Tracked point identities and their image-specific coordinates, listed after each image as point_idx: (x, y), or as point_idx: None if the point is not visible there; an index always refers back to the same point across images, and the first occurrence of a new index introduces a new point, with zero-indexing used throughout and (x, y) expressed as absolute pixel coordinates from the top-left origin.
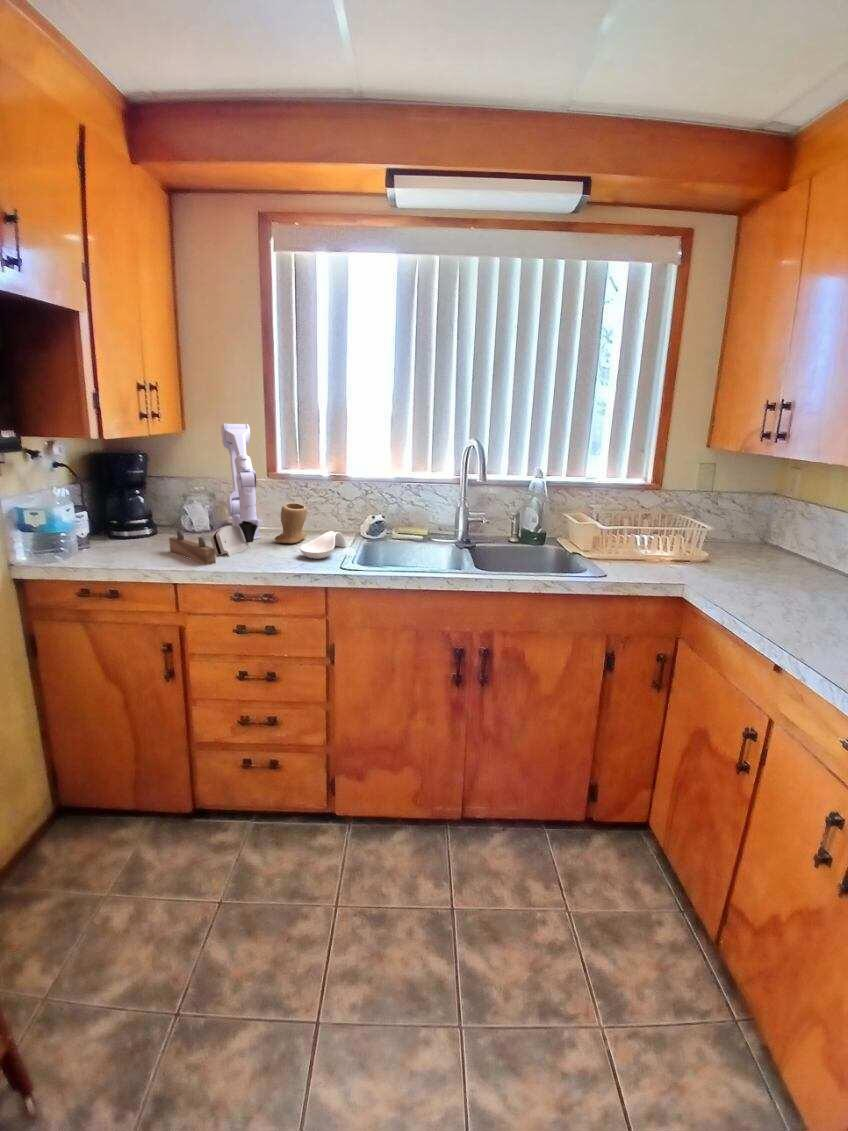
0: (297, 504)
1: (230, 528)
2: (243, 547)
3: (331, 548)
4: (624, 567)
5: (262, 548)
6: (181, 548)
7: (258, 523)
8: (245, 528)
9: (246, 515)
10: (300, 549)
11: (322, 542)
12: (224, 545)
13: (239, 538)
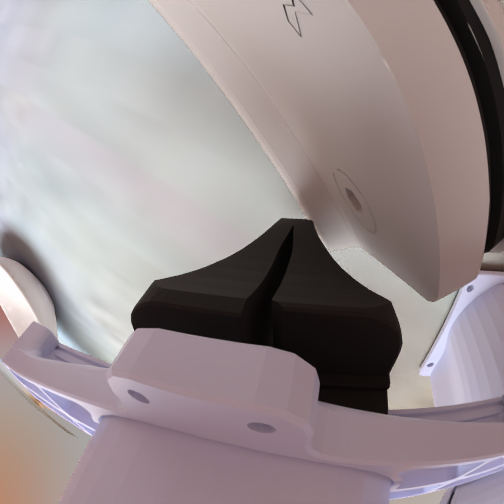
0: None
1: (322, 31)
2: (263, 148)
3: (5, 313)
4: (19, 382)
5: (212, 253)
6: None
7: (21, 341)
8: (213, 278)
9: (77, 476)
10: (2, 266)
11: None
12: None
13: (333, 177)
